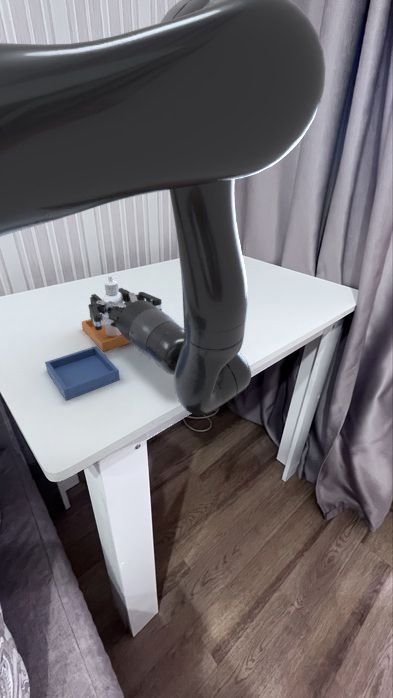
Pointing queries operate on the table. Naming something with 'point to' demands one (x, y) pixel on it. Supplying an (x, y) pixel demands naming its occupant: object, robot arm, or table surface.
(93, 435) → the table surface
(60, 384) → the blue tray
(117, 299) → the eye dropper bottle
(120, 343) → the amber tray
